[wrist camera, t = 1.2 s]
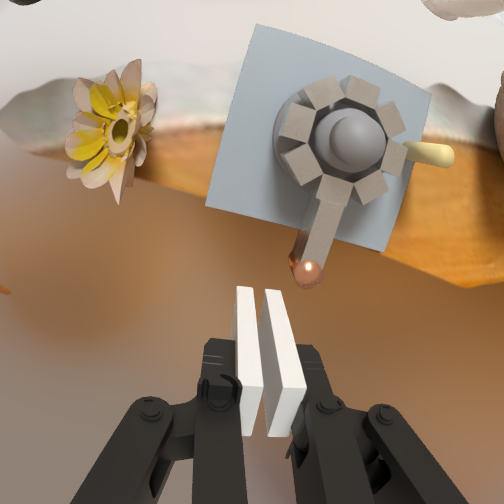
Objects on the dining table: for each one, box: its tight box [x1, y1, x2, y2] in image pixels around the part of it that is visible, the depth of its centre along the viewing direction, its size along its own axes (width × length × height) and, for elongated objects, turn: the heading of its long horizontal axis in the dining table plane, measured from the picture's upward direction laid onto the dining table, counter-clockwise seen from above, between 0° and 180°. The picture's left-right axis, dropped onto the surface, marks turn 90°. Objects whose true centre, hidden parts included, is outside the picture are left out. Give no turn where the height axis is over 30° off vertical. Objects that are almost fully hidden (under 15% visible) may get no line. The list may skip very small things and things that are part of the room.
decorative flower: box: [65, 59, 157, 205], centre depth 27 cm, size 15×11×10 cm
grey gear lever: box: [278, 75, 408, 289], centre depth 29 cm, size 21×12×4 cm, turn 165°
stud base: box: [205, 24, 454, 253], centre depth 28 cm, size 22×23×11 cm
